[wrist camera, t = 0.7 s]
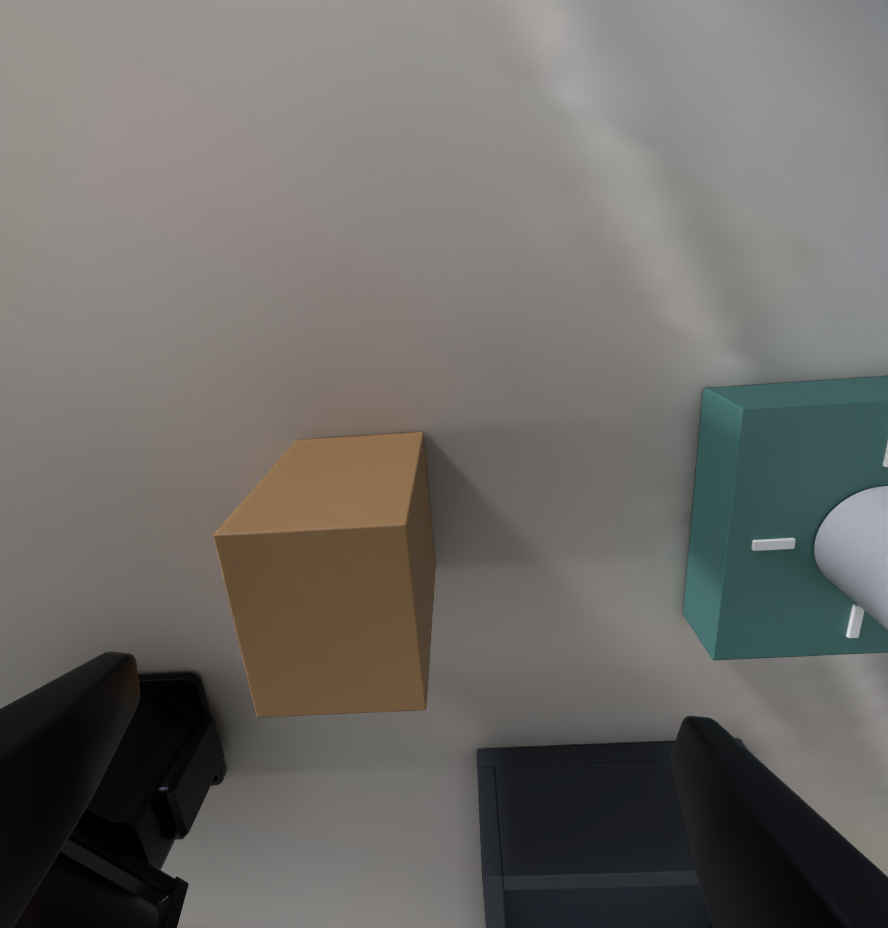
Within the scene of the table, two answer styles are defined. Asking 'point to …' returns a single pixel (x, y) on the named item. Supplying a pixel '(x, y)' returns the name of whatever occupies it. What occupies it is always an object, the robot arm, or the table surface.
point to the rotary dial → (780, 515)
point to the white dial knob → (858, 550)
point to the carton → (335, 577)
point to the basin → (585, 839)
